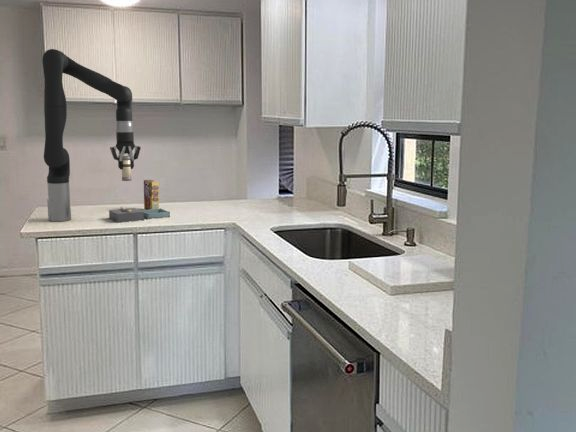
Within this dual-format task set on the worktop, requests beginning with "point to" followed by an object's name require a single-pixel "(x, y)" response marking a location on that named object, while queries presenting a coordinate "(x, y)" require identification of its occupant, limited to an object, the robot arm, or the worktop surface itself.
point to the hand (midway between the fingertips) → (126, 168)
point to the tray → (155, 213)
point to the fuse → (126, 168)
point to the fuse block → (126, 215)
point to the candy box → (151, 194)
